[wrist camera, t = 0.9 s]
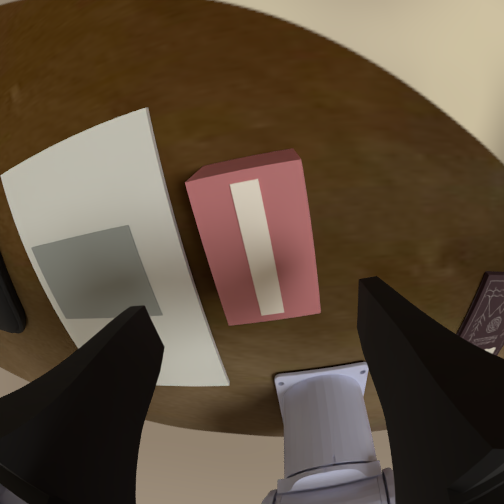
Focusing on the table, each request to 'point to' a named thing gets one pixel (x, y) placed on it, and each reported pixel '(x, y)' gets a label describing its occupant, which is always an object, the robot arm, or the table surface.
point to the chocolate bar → (486, 315)
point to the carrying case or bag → (9, 304)
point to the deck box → (257, 236)
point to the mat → (113, 242)
